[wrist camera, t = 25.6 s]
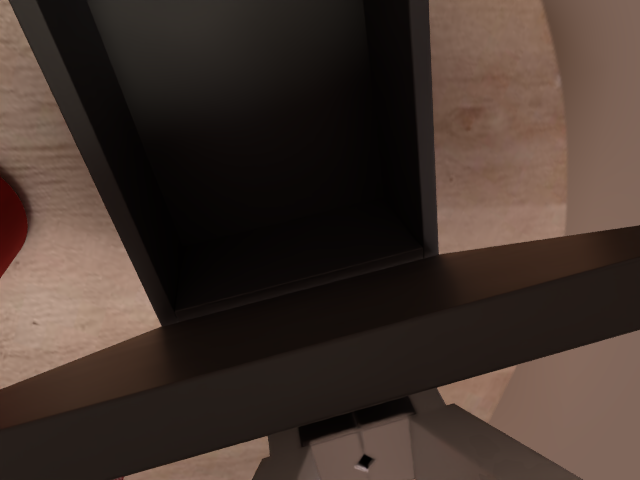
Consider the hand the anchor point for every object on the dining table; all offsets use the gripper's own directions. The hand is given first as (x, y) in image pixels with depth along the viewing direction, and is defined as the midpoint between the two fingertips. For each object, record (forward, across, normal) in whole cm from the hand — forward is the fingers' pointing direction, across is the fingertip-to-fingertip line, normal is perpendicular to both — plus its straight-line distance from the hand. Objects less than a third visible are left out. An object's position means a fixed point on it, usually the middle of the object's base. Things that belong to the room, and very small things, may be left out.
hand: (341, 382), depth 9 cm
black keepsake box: (+18, 0, -2) cm, 18 cm away
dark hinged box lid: (+4, 0, +1) cm, 4 cm away
